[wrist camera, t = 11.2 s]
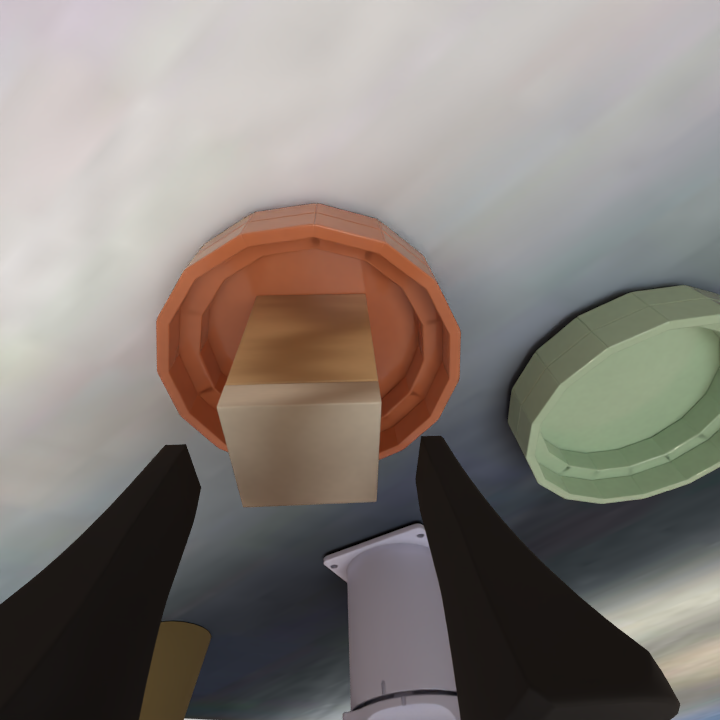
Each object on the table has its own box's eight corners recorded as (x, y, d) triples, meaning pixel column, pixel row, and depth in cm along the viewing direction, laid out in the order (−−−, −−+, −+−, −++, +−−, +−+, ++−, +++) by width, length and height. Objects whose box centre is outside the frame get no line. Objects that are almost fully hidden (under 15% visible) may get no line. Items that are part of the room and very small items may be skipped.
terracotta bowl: (479, 369, 20) (499, 409, 18) (285, 456, 23) (280, 501, 21) (365, 137, 14) (371, 149, 11) (119, 297, 17) (83, 334, 14)
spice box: (365, 293, 17) (381, 402, 11) (364, 378, 20) (376, 502, 14) (256, 294, 17) (216, 407, 11) (269, 381, 19) (242, 507, 14)
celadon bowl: (740, 411, 23) (788, 451, 21) (537, 484, 26) (559, 526, 23) (742, 233, 17) (811, 260, 14) (475, 356, 20) (495, 395, 17)
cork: (162, 614, 33) (99, 812, 24) (224, 632, 36) (188, 816, 27) (127, 639, 36) (59, 827, 27) (188, 654, 38) (144, 830, 29)
